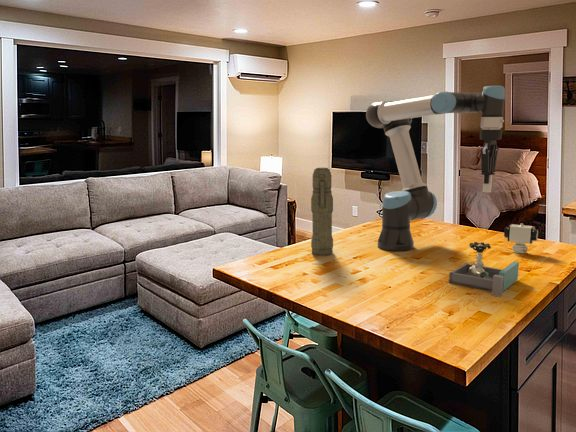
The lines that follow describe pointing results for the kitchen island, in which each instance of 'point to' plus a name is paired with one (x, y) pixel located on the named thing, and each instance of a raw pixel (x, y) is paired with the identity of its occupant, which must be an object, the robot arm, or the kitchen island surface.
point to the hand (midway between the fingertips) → (486, 191)
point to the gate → (509, 274)
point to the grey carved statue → (322, 212)
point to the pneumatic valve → (520, 236)
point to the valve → (479, 260)
